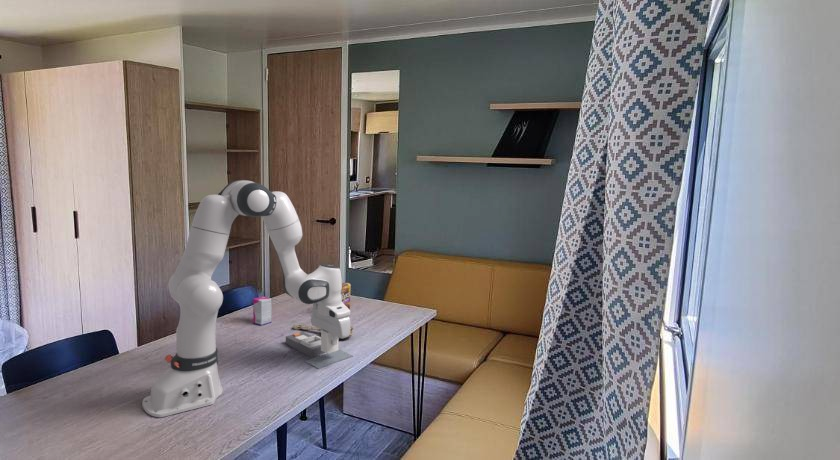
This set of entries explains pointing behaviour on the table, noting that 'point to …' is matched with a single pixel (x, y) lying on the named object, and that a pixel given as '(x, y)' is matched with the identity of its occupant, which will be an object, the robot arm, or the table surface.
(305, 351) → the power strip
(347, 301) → the candy box
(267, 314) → the supplement box
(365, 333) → the table surface
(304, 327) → the hand mirror
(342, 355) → the slate mat
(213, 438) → the table surface
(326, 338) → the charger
